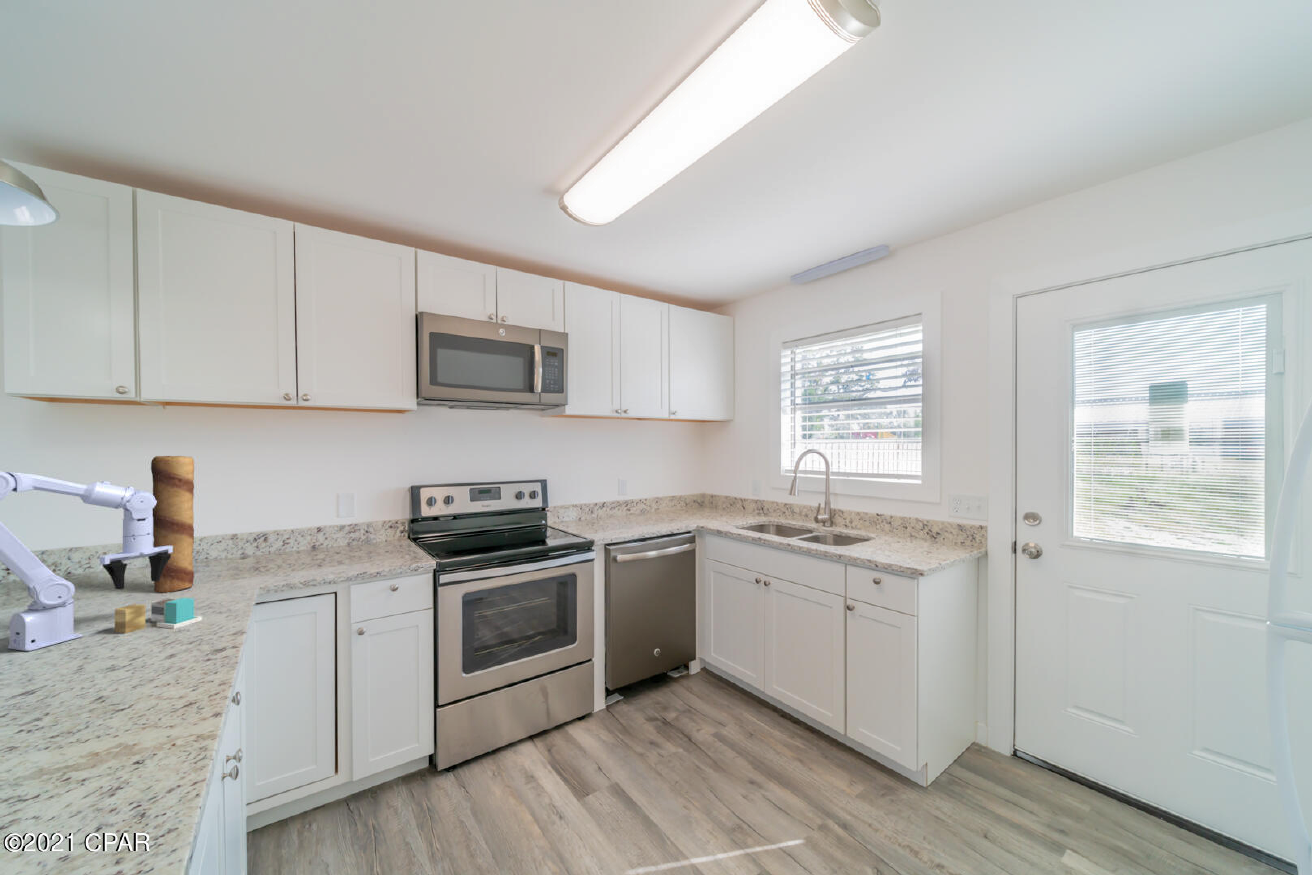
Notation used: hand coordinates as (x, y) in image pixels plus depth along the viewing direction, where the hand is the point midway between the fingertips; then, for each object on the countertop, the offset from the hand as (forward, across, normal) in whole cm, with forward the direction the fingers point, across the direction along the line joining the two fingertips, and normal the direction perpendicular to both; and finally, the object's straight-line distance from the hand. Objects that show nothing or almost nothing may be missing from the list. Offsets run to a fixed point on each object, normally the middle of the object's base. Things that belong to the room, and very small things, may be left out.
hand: (137, 584), depth 134 cm
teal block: (+10, +2, -12) cm, 16 cm away
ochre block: (+10, -4, -5) cm, 12 cm away
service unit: (+10, +3, -5) cm, 12 cm away
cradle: (+10, +2, -12) cm, 16 cm away
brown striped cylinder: (+10, +25, +30) cm, 40 cm away
